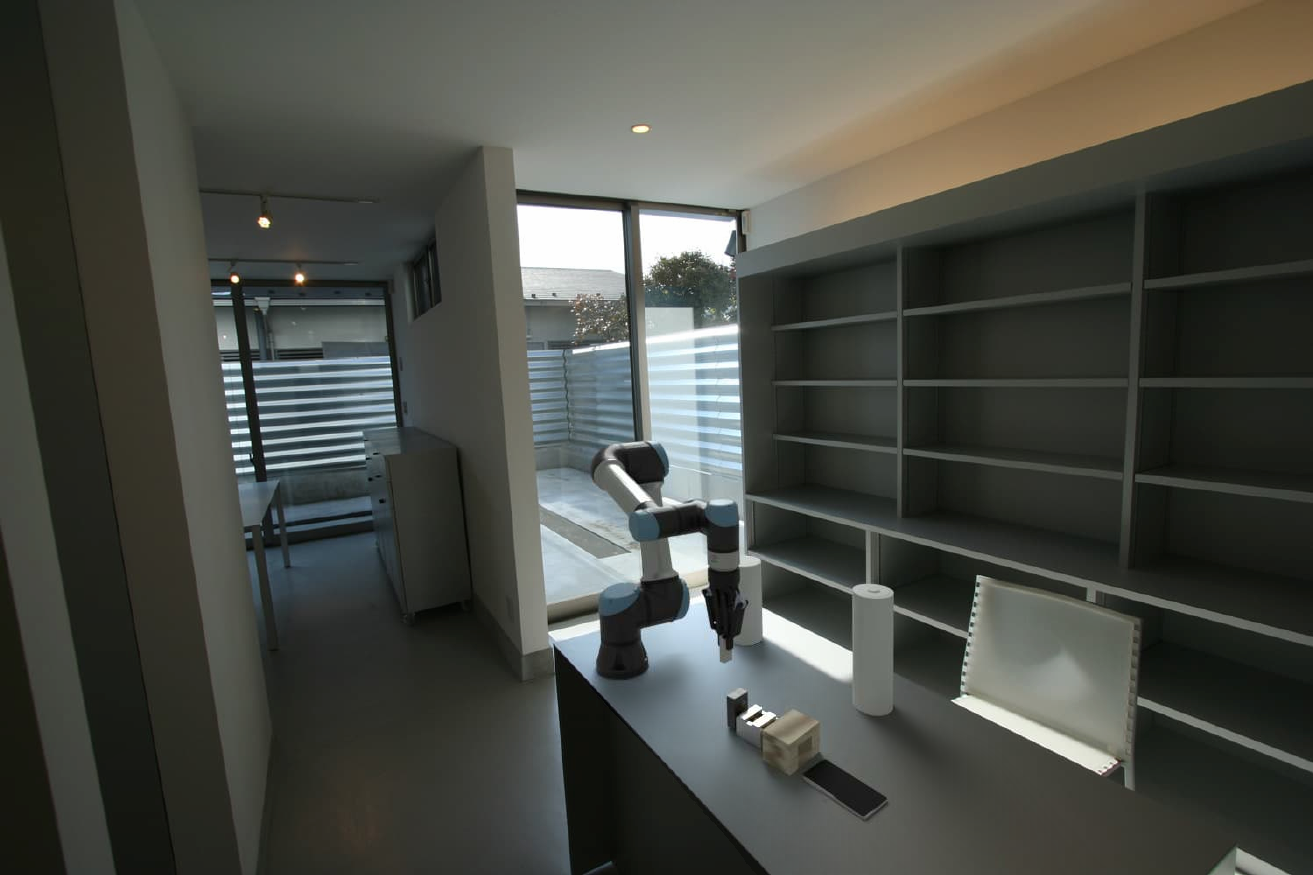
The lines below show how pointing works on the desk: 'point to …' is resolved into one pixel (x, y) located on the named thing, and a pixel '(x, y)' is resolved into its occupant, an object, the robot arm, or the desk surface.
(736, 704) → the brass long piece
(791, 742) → the socket
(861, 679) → the cylinder container
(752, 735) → the sleeve
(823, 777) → the smartphone
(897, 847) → the desk surface
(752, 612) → the tall pillar cylinder
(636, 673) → the robot arm
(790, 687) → the desk surface
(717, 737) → the desk surface
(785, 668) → the desk surface
